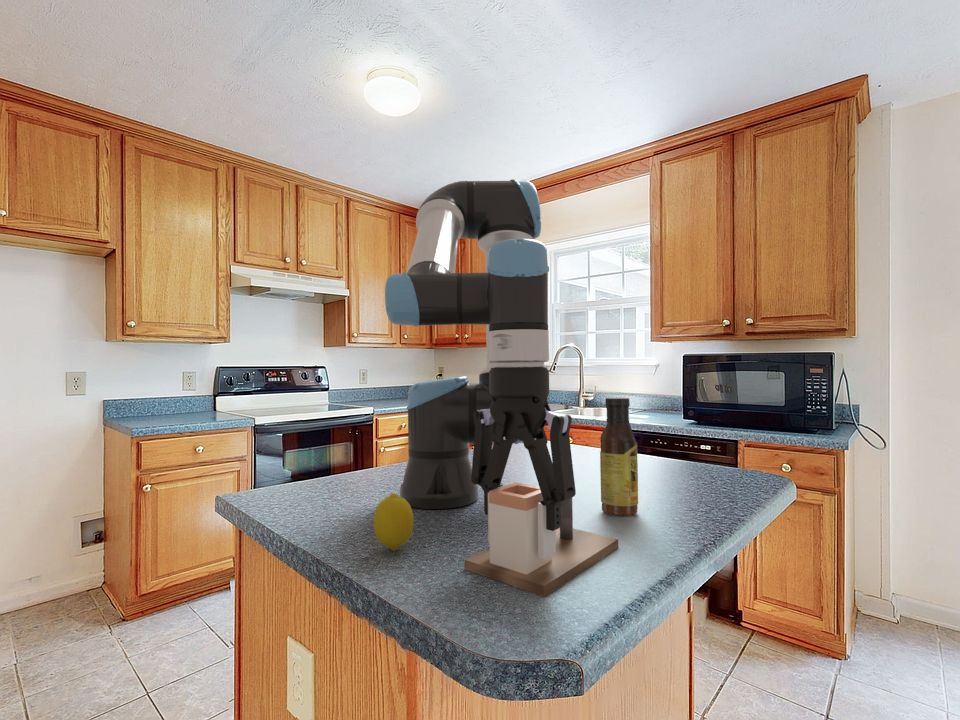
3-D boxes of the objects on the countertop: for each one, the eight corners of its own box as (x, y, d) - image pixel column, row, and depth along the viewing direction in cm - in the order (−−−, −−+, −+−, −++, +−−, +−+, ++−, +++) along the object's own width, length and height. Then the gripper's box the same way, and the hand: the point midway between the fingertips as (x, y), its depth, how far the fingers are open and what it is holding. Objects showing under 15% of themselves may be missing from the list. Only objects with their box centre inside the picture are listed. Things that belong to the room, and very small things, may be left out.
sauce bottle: (640, 519, 83) (638, 399, 83) (601, 517, 85) (600, 399, 85) (636, 507, 90) (634, 396, 90) (600, 506, 91) (598, 396, 91)
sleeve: (489, 562, 63) (489, 490, 63) (516, 549, 67) (515, 482, 67) (526, 574, 59) (525, 498, 59) (552, 560, 64) (551, 488, 64)
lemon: (376, 544, 73) (375, 489, 73) (414, 542, 74) (414, 488, 74) (371, 559, 68) (370, 499, 68) (412, 557, 68) (412, 498, 68)
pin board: (464, 569, 64) (463, 512, 64) (546, 529, 78) (545, 483, 79) (544, 596, 56) (543, 532, 56) (618, 547, 71) (617, 496, 71)
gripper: (441, 366, 67) (443, 538, 67) (573, 365, 54) (576, 579, 54) (478, 365, 73) (480, 524, 72) (605, 364, 60) (608, 558, 60)
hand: (521, 547), depth 63 cm, fingers open, 7 cm apart
